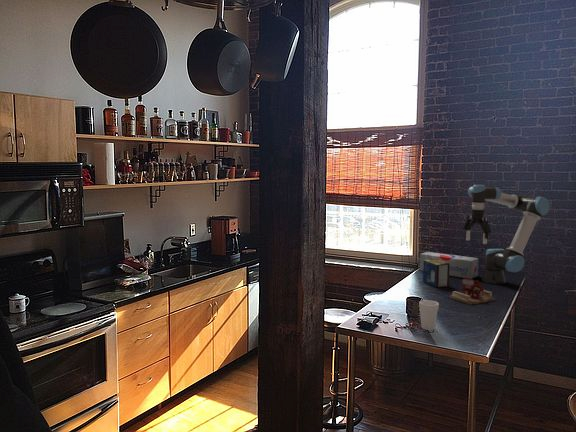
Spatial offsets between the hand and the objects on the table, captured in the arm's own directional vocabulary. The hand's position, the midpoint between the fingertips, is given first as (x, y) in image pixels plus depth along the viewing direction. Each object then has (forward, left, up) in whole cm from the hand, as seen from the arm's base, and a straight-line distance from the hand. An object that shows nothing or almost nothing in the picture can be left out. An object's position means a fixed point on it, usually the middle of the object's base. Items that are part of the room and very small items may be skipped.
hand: (476, 242), depth 311 cm
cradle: (+17, +14, -32) cm, 39 cm away
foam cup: (+77, +41, -32) cm, 93 cm away
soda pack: (-19, -42, -32) cm, 56 cm away
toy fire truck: (+17, +14, -30) cm, 37 cm away
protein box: (+11, -23, -32) cm, 41 cm away
